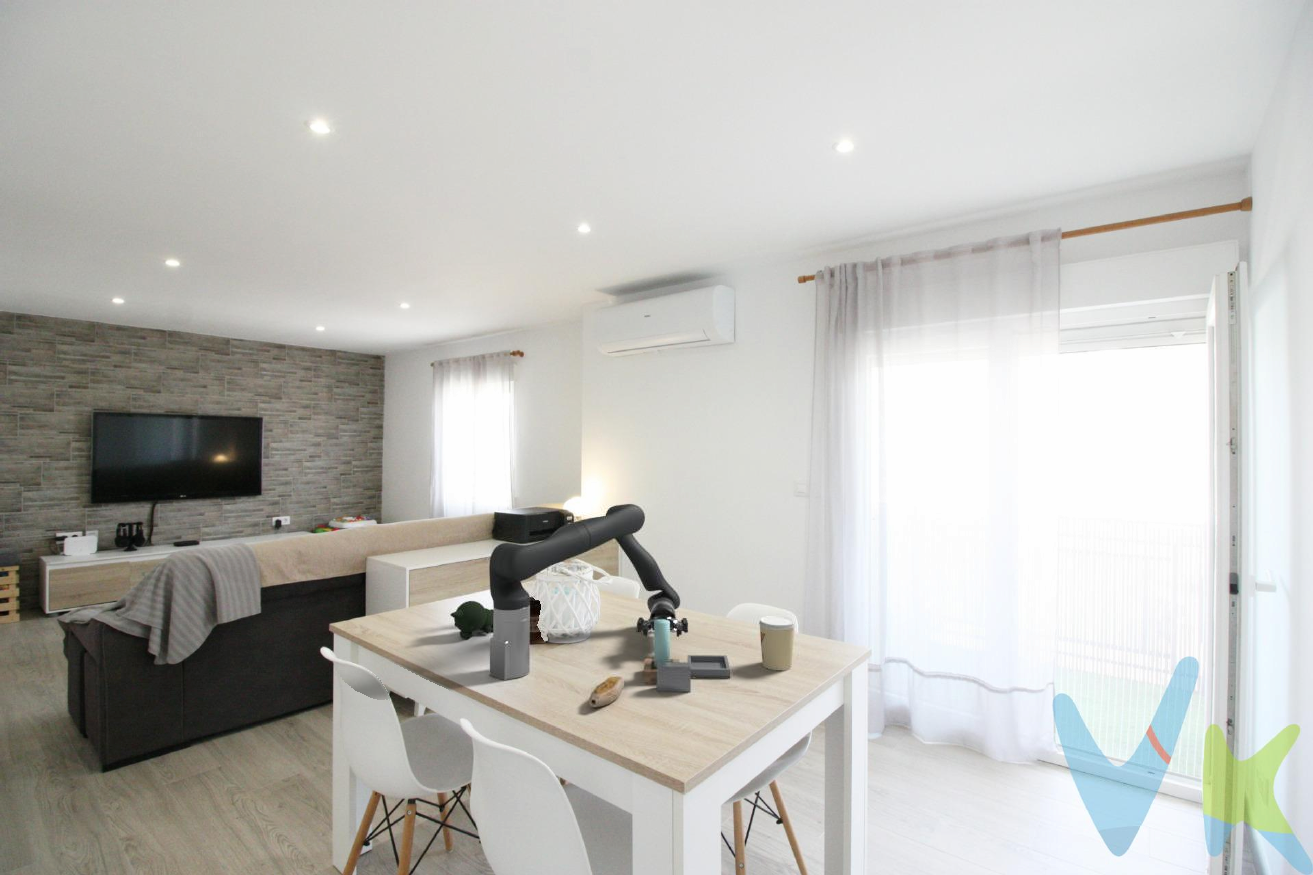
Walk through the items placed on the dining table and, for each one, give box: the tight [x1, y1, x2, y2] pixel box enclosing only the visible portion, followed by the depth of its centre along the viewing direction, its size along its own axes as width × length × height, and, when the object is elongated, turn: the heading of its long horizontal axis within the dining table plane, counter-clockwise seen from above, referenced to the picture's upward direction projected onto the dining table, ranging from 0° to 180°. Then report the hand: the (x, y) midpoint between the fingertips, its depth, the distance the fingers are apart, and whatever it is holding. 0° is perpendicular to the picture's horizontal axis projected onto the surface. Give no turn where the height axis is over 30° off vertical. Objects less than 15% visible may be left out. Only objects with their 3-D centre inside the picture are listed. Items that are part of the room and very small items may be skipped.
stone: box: [588, 676, 625, 708], centre depth 139 cm, size 5×14×4 cm, turn 155°
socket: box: [643, 658, 681, 685], centre depth 153 cm, size 9×9×3 cm
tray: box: [686, 654, 731, 679], centre depth 157 cm, size 11×11×2 cm
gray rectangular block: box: [656, 661, 692, 693], centre depth 145 cm, size 3×8×6 cm, turn 89°
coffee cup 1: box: [530, 596, 545, 644], centre depth 182 cm, size 9×8×13 cm
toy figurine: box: [450, 600, 493, 640], centre depth 189 cm, size 9×19×25 cm
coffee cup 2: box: [758, 615, 796, 671], centre depth 161 cm, size 9×9×12 cm
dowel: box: [653, 619, 671, 669], centre depth 153 cm, size 4×4×14 cm
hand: (662, 632), depth 162 cm, fingers open, 8 cm apart
